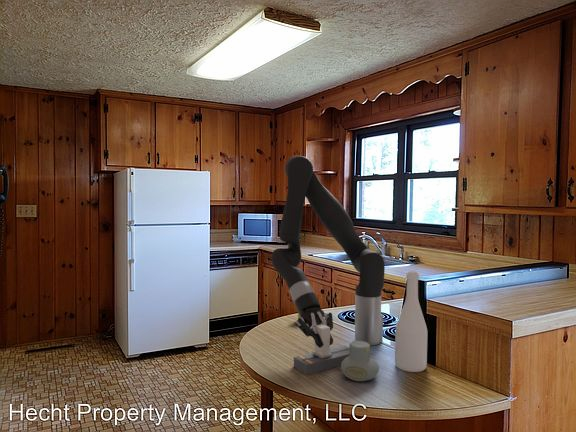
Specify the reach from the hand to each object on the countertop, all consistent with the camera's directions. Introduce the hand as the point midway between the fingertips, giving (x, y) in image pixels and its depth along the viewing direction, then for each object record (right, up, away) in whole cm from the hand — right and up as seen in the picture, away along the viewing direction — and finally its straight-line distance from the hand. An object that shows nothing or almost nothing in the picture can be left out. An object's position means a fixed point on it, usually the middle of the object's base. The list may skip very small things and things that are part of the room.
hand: (326, 345), depth 134 cm
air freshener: (+9, -8, -7) cm, 14 cm away
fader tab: (-1, -4, +2) cm, 4 cm away
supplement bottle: (-5, -4, +47) cm, 48 cm away
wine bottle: (+26, -7, +1) cm, 27 cm away
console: (0, -7, +3) cm, 8 cm away
